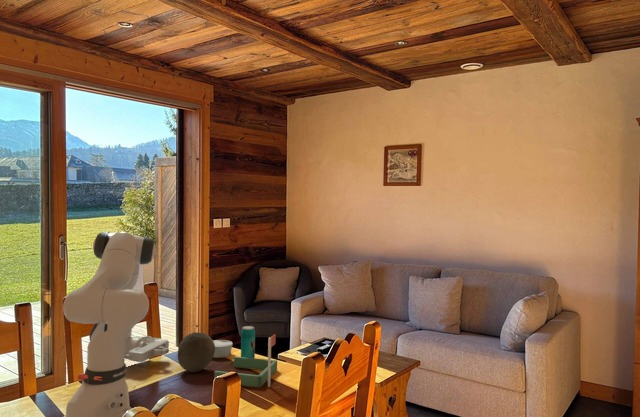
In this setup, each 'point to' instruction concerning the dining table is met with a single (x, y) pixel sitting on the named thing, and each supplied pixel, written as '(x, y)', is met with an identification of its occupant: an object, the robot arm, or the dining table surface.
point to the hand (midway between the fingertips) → (167, 351)
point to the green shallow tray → (253, 363)
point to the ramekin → (222, 348)
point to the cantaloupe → (195, 351)
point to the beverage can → (248, 342)
